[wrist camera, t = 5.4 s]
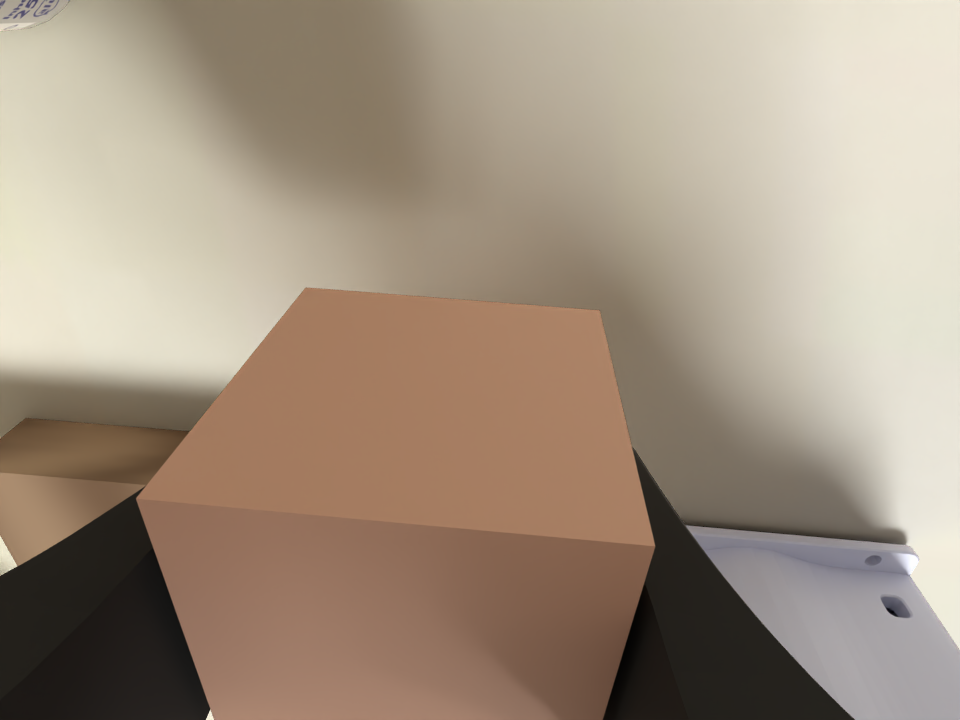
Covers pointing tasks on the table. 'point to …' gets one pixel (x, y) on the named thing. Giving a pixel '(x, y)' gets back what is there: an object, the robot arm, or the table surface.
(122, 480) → the tan flat square block
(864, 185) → the table surface
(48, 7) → the energy drink
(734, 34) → the table surface
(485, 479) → the terracotta cube
